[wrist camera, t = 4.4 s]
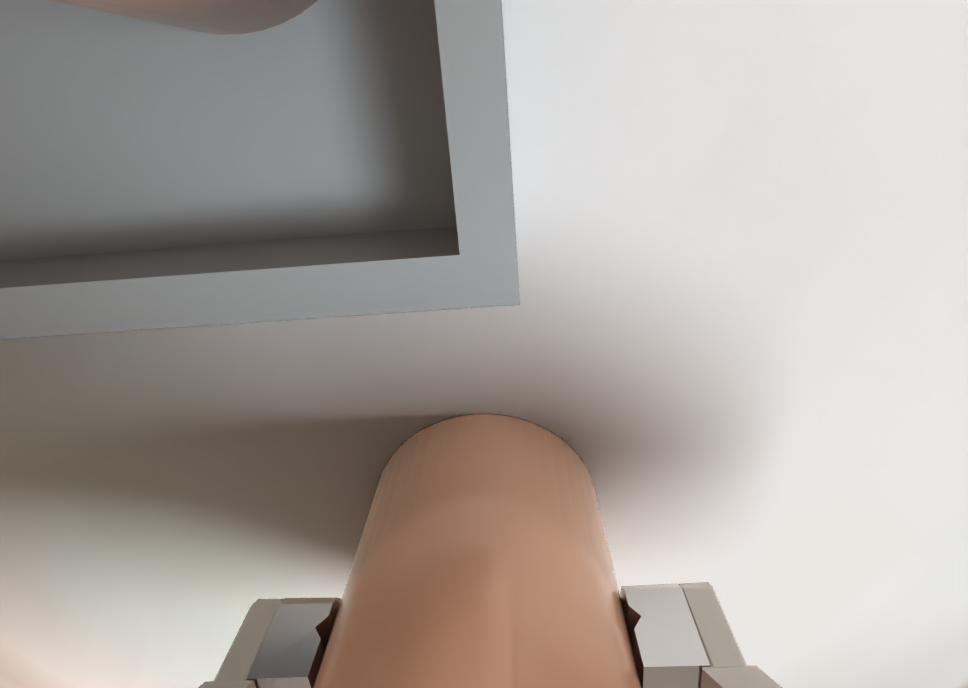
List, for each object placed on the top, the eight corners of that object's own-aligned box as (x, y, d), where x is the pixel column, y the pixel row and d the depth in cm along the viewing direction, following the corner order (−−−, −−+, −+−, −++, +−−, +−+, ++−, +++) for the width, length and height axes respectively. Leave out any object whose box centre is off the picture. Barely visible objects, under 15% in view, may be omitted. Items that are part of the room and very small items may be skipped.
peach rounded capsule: (596, 407, 12) (743, 898, 5) (597, 587, 14) (702, 1134, 7) (359, 420, 12) (149, 902, 5) (393, 595, 14) (277, 1126, 7)
